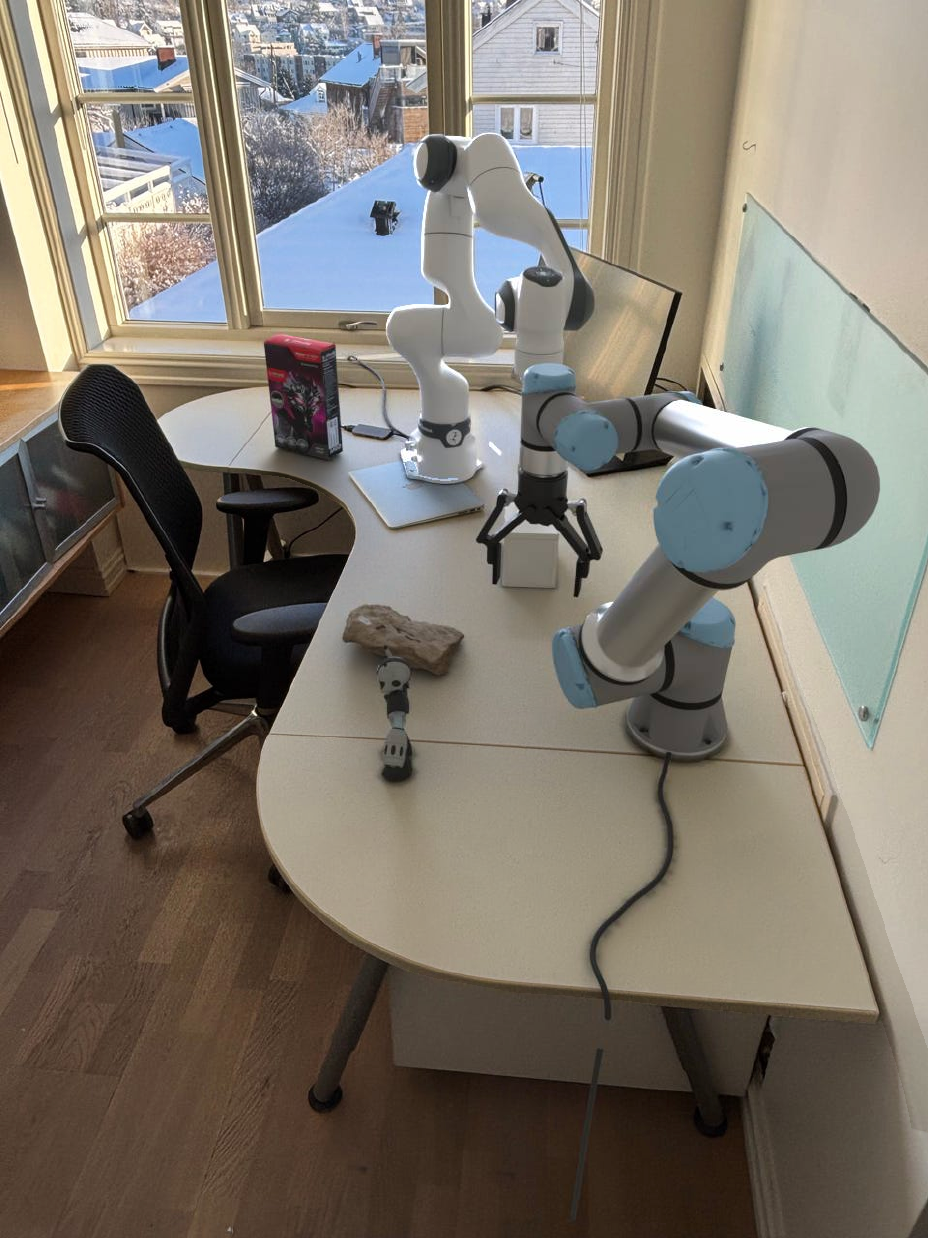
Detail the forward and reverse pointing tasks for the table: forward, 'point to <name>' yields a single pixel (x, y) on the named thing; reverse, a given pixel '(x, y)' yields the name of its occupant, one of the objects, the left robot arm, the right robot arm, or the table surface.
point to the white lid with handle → (529, 526)
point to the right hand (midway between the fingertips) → (536, 586)
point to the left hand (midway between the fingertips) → (534, 434)
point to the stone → (402, 637)
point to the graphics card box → (304, 395)
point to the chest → (530, 562)
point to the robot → (396, 716)
